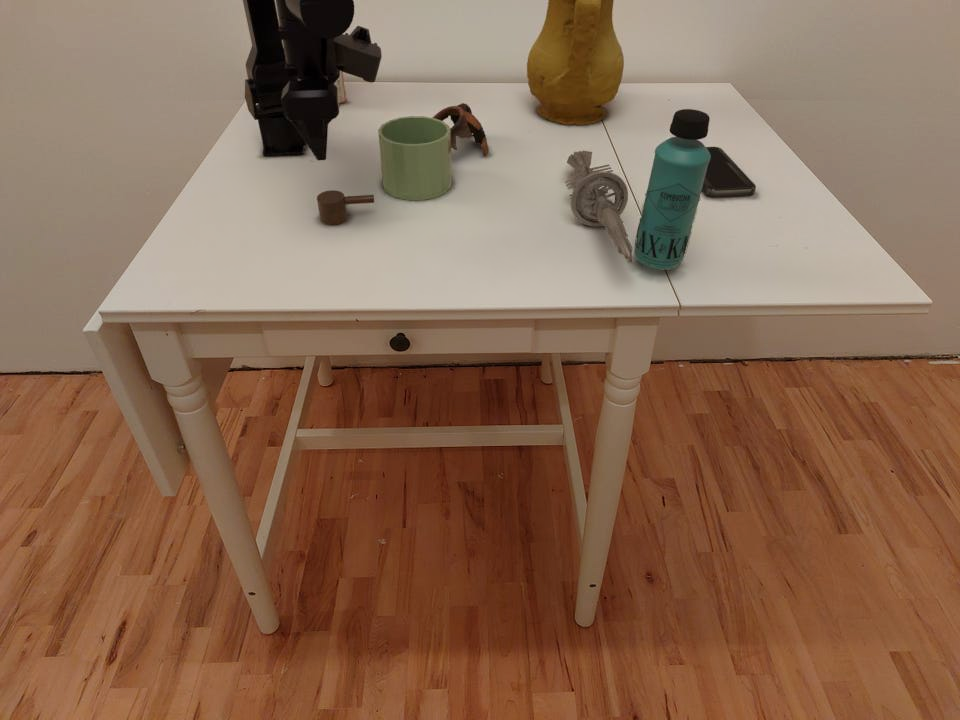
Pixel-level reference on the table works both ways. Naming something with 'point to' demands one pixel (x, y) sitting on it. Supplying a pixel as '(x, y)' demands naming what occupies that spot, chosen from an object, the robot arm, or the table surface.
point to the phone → (725, 177)
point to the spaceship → (599, 199)
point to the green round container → (415, 157)
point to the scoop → (337, 205)
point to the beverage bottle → (673, 192)
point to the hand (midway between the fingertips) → (322, 144)
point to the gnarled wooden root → (464, 125)
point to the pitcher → (575, 62)
